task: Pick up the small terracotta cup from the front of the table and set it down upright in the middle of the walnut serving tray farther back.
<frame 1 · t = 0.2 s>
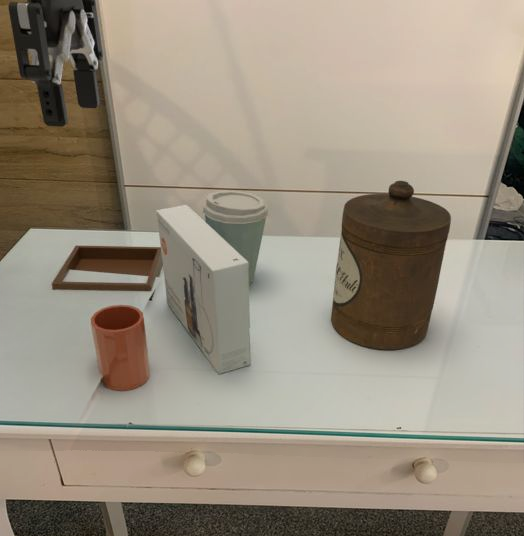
hand: (74, 116, 58), 32 cm above the table, tool pointing down, fingers open, 8 cm apart
wooden container: (378, 324, 86), on the table
cup: (125, 375, 73), on the table
disposable coffee cup: (235, 282, 96), on the table
skincare box: (204, 333, 83), on the table
tray: (112, 278, 96), on the table
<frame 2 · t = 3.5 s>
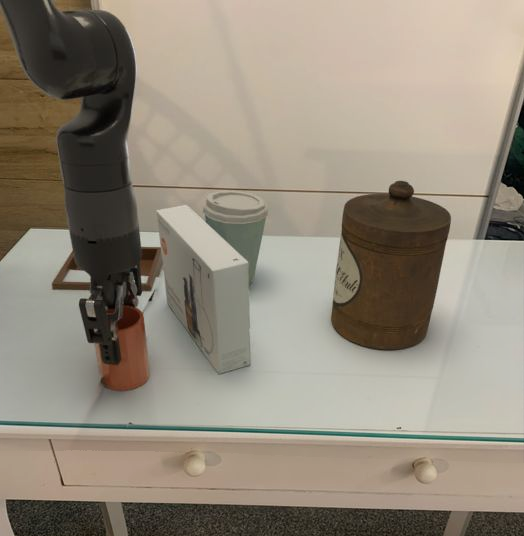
hand: (121, 346, 71), 5 cm above the table, tool pointing down, fingers closed on cup, 6 cm apart
cup: (125, 375, 73), on the table, touching gripper
everything else where it was.
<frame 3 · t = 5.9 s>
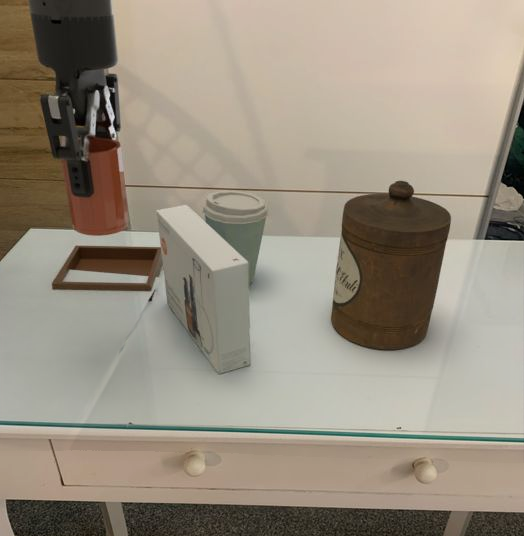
hand: (95, 184, 62), 25 cm above the table, tool pointing down, fingers closed on cup, 6 cm apart
cup: (101, 224, 64), point 20 cm above the table, touching gripper
everything else where it was.
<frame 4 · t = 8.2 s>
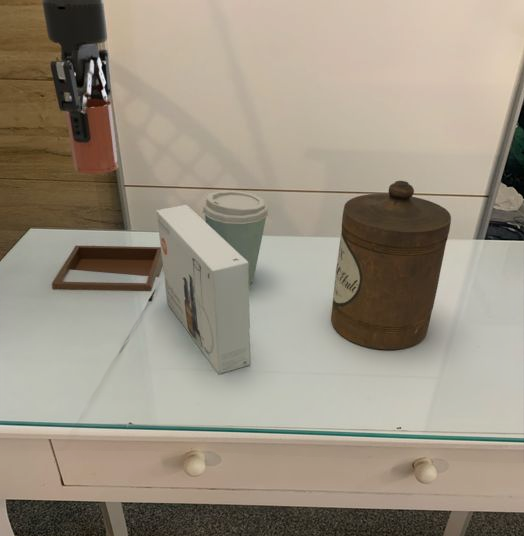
hand: (91, 135, 80), 24 cm above the table, tool pointing down, fingers closed on cup, 6 cm apart
cup: (96, 167, 83), point 20 cm above the table, touching gripper
everything else where it was.
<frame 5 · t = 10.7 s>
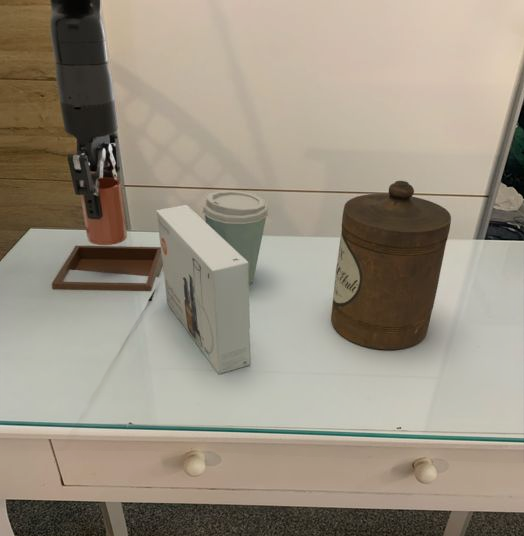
hand: (103, 210, 88), 12 cm above the table, tool pointing down, fingers closed on cup, 6 cm apart
cup: (107, 237, 91), point 8 cm above the table, touching gripper
everything else where it was.
when the fingers open (5 cm above the table, at t = 13.0 s): cup stays where it is, resting on tray.
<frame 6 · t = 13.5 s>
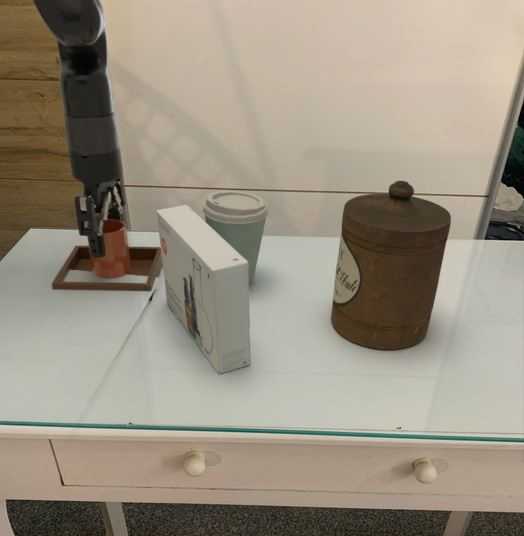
hand: (107, 245, 92), 6 cm above the table, tool pointing down, fingers open, 8 cm apart
cup: (113, 275, 95), point 1 cm above the table, touching tray
everything else where it was.
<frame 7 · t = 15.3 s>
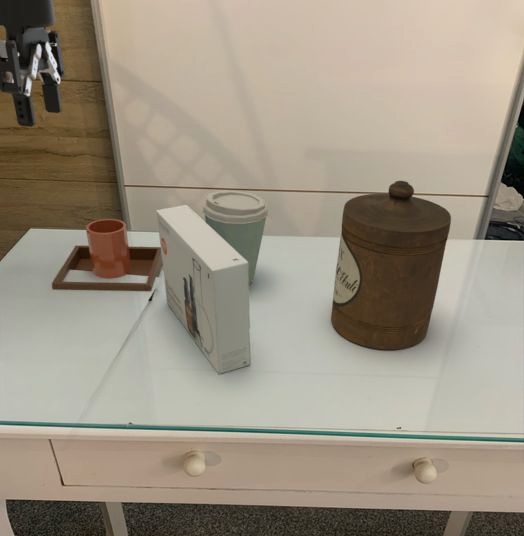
hand: (41, 118, 78), 26 cm above the table, tool pointing down, fingers open, 8 cm apart
nothing on the table moved.
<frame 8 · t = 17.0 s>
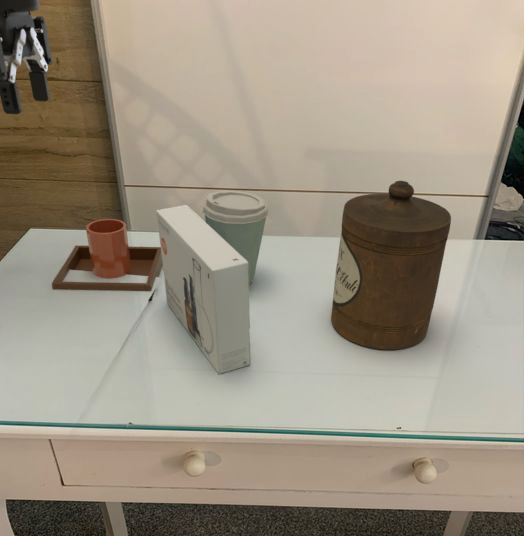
hand: (28, 106, 77), 28 cm above the table, tool pointing down, fingers open, 8 cm apart
nothing on the table moved.
at the end: cup inside the target area in the tray (0.1 cm from its centre), point 0.6 cm above the tray's base; cup tilted 0°; the gripper is holding nothing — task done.
